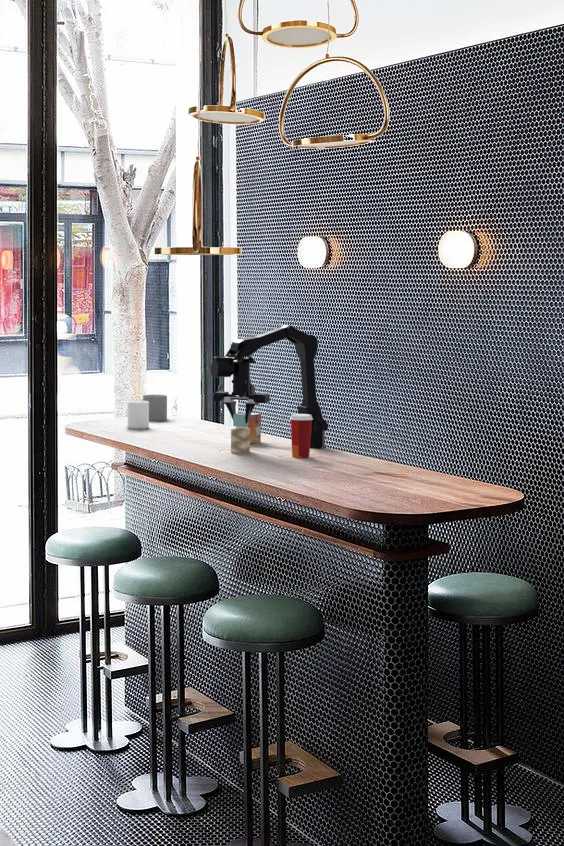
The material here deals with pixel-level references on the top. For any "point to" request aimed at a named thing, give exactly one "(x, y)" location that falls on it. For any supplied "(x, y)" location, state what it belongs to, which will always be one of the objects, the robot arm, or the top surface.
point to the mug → (138, 414)
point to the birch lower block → (240, 447)
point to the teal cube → (239, 420)
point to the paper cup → (301, 434)
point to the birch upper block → (240, 434)
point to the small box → (254, 427)
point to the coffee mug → (156, 407)
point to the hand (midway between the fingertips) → (240, 422)
